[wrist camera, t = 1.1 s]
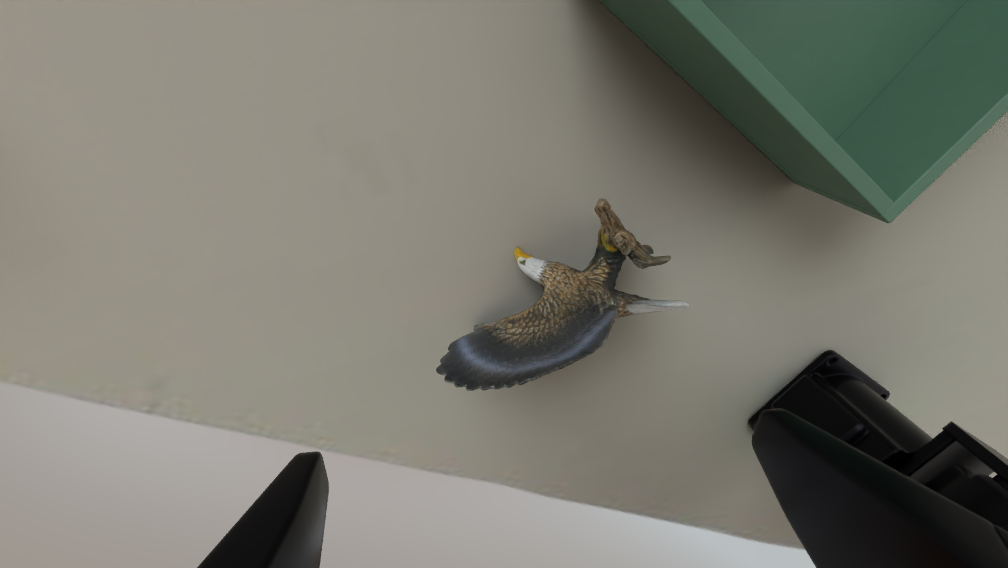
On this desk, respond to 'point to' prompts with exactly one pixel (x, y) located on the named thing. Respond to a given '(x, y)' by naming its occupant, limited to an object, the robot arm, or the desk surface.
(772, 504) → the desk surface
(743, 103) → the bin
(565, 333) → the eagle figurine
